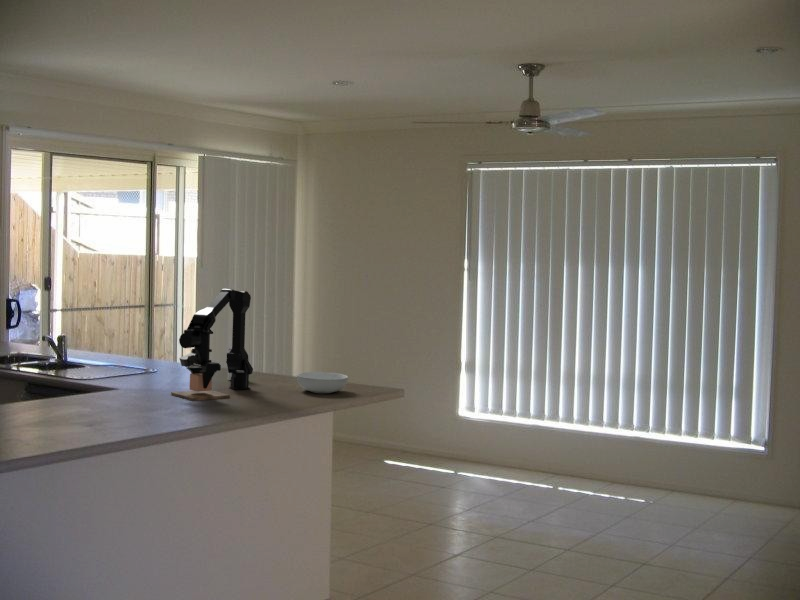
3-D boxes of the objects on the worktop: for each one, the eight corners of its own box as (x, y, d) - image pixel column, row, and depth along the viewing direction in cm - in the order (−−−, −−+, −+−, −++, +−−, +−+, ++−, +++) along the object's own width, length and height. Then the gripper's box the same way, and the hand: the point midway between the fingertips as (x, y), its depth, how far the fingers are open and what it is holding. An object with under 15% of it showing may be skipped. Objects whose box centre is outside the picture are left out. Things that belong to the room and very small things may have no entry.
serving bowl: (307, 396, 367) (308, 379, 367) (288, 389, 386) (289, 372, 386) (355, 395, 377) (356, 377, 377) (335, 387, 395) (335, 371, 395)
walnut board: (207, 392, 368) (207, 389, 368) (229, 397, 357) (229, 395, 357) (171, 394, 358) (171, 392, 358) (192, 400, 346) (192, 398, 346)
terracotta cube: (203, 388, 361) (203, 372, 361) (211, 390, 357) (212, 374, 357) (189, 389, 357) (190, 373, 357) (197, 391, 353) (198, 375, 352)
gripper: (170, 344, 358) (169, 385, 358) (195, 349, 344) (194, 392, 345) (196, 343, 365) (195, 383, 366) (222, 348, 351) (220, 389, 352)
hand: (200, 387), depth 357 cm, fingers closed on terracotta cube, 6 cm apart
